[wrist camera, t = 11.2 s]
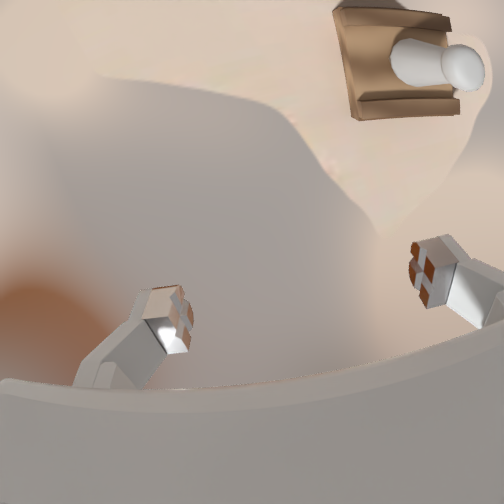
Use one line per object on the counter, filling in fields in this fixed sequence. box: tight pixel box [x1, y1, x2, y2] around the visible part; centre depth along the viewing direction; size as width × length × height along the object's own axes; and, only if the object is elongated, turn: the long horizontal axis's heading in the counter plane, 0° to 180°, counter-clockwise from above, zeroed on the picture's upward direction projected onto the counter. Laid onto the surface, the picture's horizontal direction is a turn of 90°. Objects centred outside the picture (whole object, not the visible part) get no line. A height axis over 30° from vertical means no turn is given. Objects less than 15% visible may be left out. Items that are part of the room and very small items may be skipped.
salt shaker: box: [389, 38, 485, 92], centre depth 21 cm, size 6×6×13 cm
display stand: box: [332, 7, 460, 121], centre depth 27 cm, size 14×14×4 cm
